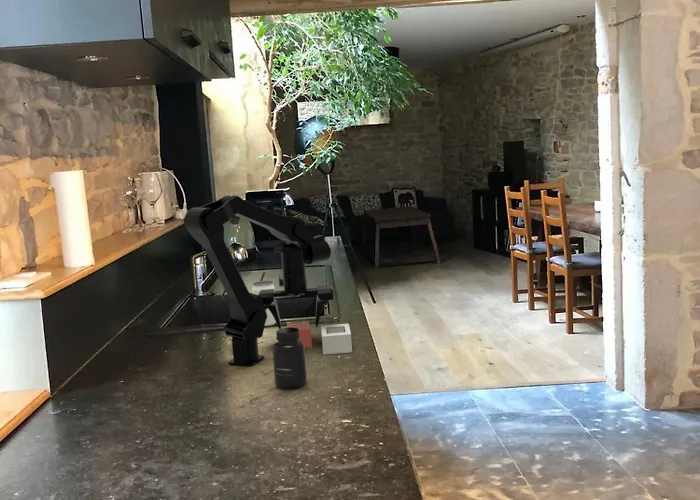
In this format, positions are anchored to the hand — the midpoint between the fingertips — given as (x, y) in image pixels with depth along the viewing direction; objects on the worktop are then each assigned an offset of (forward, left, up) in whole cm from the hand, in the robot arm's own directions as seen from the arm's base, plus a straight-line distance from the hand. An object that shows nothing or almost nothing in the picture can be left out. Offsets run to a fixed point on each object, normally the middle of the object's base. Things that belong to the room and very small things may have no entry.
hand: (298, 327), depth 175 cm
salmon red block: (0, 0, -4) cm, 5 cm away
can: (+17, +19, -5) cm, 26 cm away
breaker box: (-1, -11, -4) cm, 11 cm away
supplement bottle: (-27, -11, -5) cm, 30 cm away
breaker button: (-1, -11, -3) cm, 11 cm away
